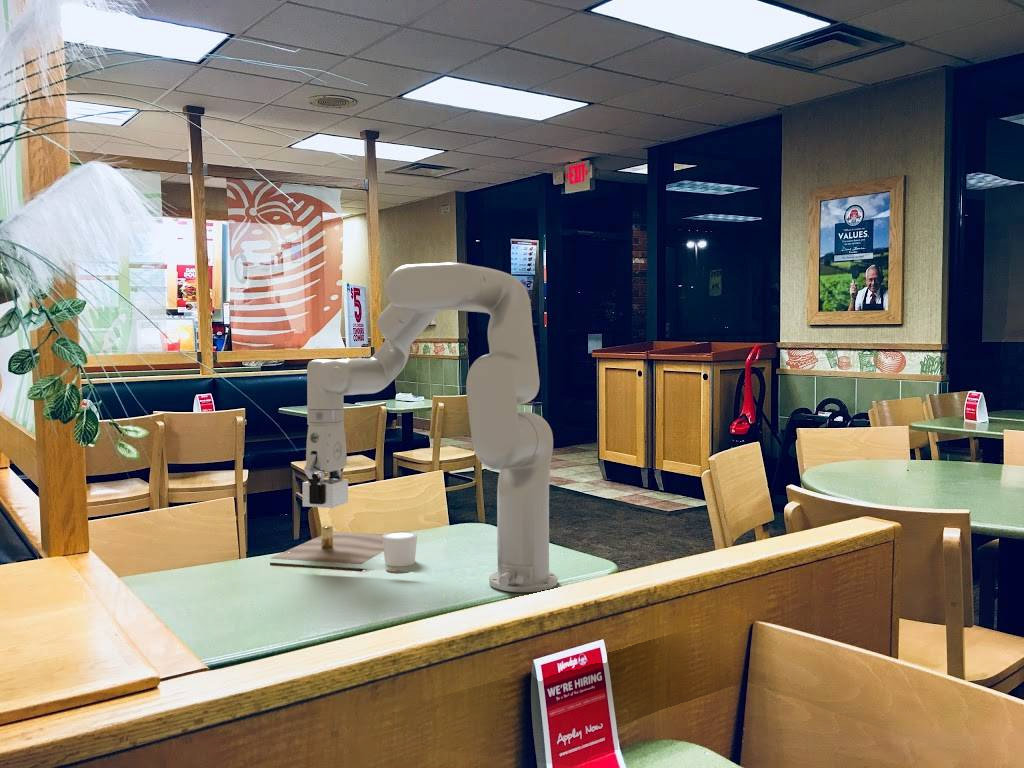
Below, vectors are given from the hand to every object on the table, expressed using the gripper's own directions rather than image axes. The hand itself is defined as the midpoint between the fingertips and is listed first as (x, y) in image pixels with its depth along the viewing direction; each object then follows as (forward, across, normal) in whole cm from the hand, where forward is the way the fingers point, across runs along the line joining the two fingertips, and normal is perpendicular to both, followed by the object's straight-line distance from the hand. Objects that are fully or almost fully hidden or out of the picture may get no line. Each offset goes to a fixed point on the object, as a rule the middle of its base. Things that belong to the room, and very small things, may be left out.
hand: (325, 500), depth 169 cm
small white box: (+1, 0, 0) cm, 1 cm away
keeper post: (+10, 0, 0) cm, 10 cm away
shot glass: (+12, -8, -20) cm, 25 cm away
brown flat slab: (+12, +2, -3) cm, 12 cm away
